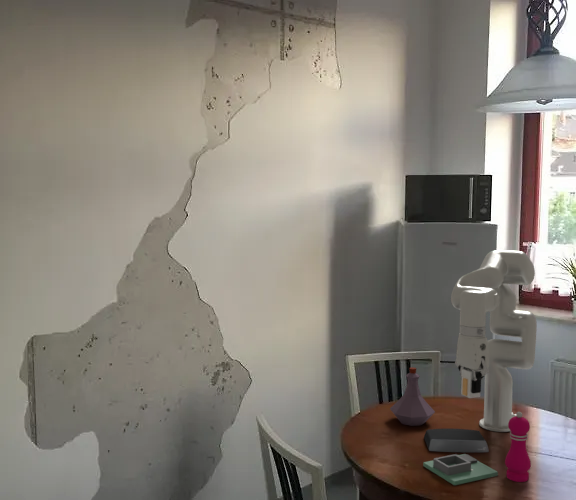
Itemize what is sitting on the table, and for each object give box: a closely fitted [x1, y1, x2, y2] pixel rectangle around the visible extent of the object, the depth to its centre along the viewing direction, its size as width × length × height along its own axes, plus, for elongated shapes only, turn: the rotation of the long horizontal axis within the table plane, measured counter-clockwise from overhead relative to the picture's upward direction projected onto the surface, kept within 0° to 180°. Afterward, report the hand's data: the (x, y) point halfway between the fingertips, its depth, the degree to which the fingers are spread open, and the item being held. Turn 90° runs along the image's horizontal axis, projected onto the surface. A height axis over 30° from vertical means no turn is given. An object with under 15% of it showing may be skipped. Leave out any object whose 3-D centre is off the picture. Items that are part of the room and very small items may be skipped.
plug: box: [460, 368, 481, 399], centre depth 205 cm, size 4×4×8 cm
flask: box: [389, 366, 436, 427], centre depth 247 cm, size 16×16×20 cm
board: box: [422, 453, 499, 486], centre depth 204 cm, size 16×15×4 cm
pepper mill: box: [504, 411, 532, 483], centre depth 198 cm, size 7×7×20 cm
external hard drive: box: [423, 428, 489, 453], centre depth 225 cm, size 13×19×4 cm
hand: (470, 390), depth 205 cm, fingers closed on plug, 4 cm apart
